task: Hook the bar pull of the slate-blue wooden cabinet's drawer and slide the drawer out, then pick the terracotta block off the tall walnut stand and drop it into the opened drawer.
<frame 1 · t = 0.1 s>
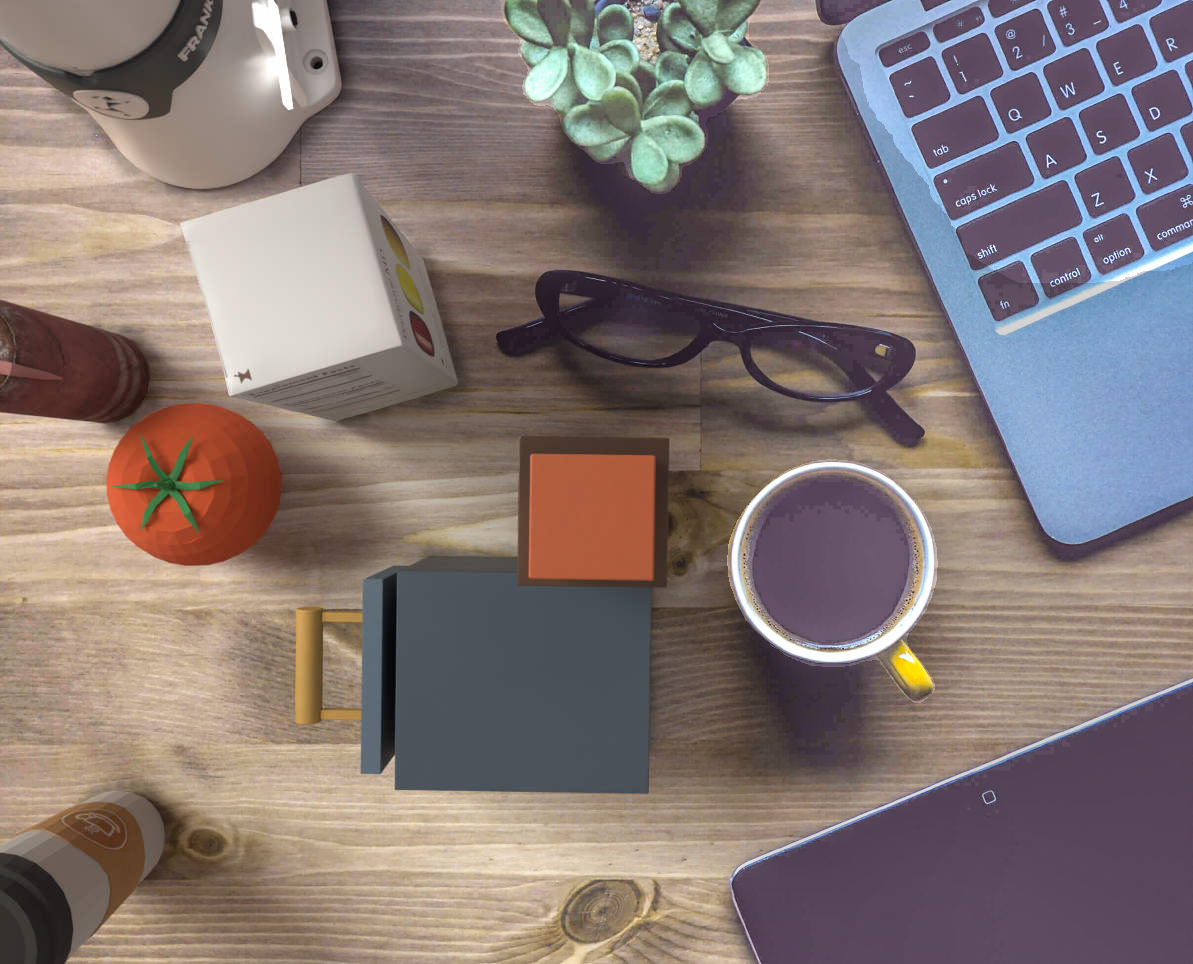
supplement box: (377, 338, 61), on the table
stand: (596, 496, 61), on the table
can: (113, 379, 61), on the table
coffee cup: (124, 832, 61), on the table
tomato: (229, 483, 61), on the table
cabinet: (535, 649, 61), on the table
block: (593, 511, 36), point 25 cm above the table, touching stand
drawer: (447, 663, 56), point 5 cm above the table, slide at 1.0 cm
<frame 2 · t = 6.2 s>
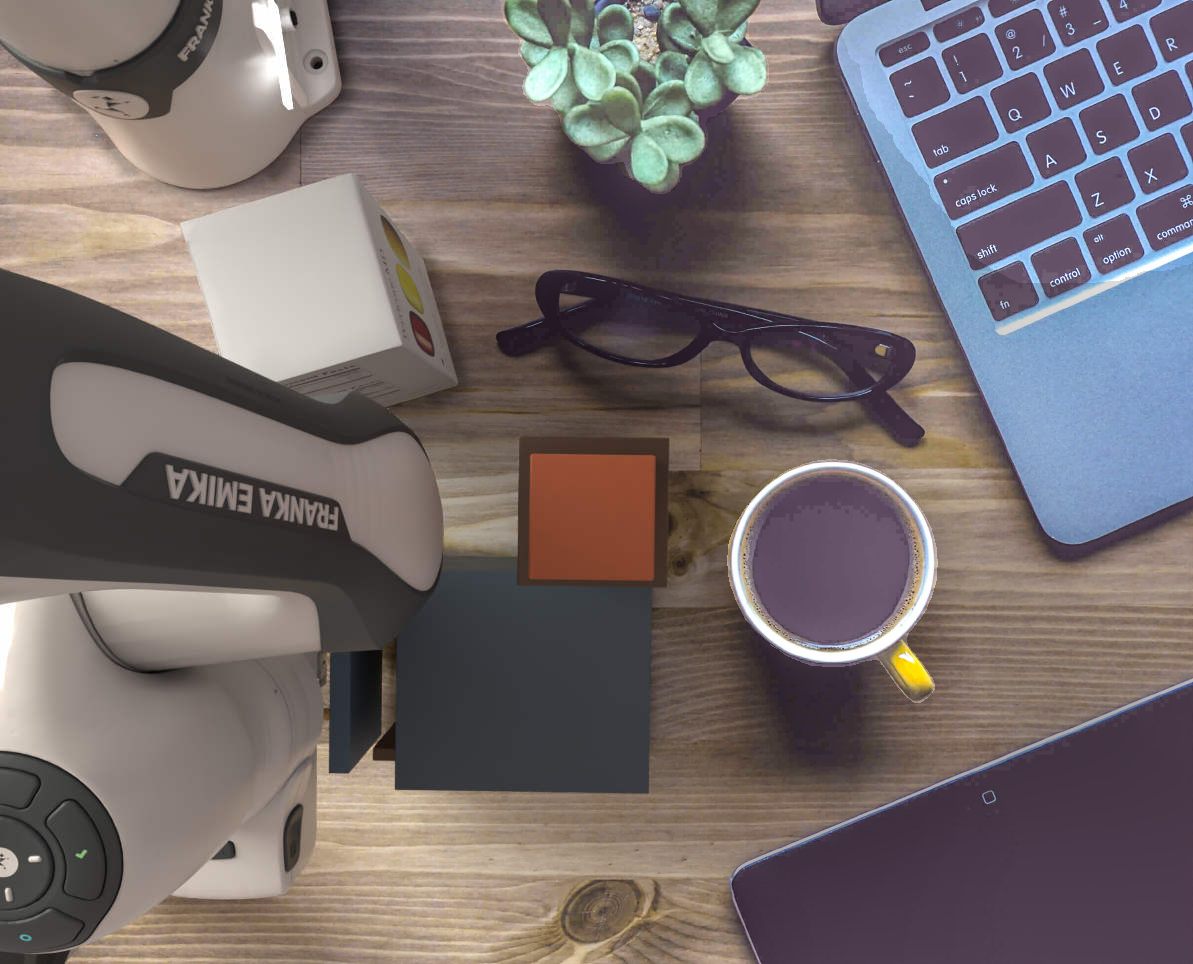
hand: (314, 659, 57), 4 cm above the table, tool pointing down, fingers closed
drawer: (417, 663, 56), point 5 cm above the table, slide at 2.9 cm, touching gripper
everything else where it was.
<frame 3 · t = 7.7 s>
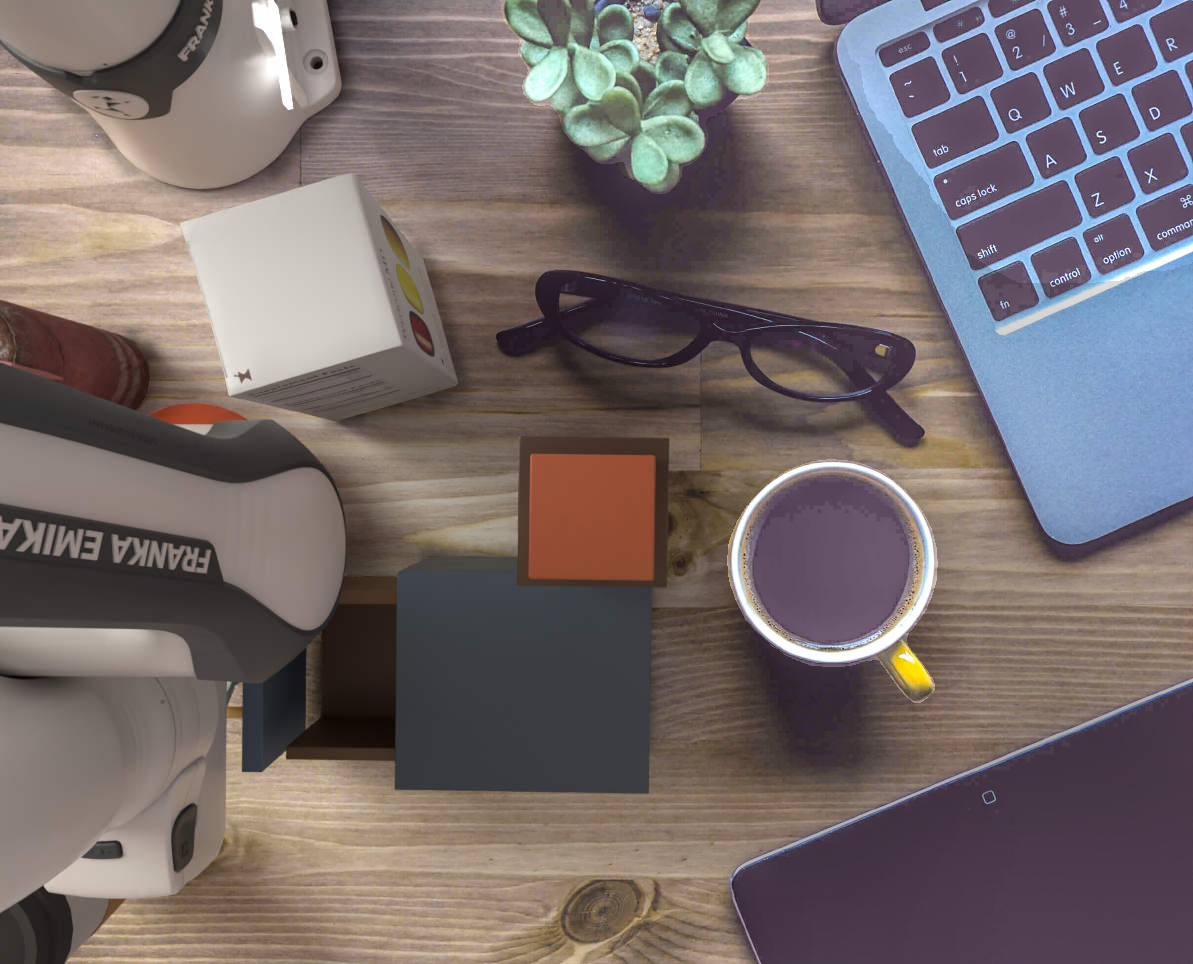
hand: (232, 656, 56), 5 cm above the table, tool pointing down, fingers closed
drawer: (336, 662, 56), point 5 cm above the table, slide at 8.0 cm, touching gripper
everything else where it was.
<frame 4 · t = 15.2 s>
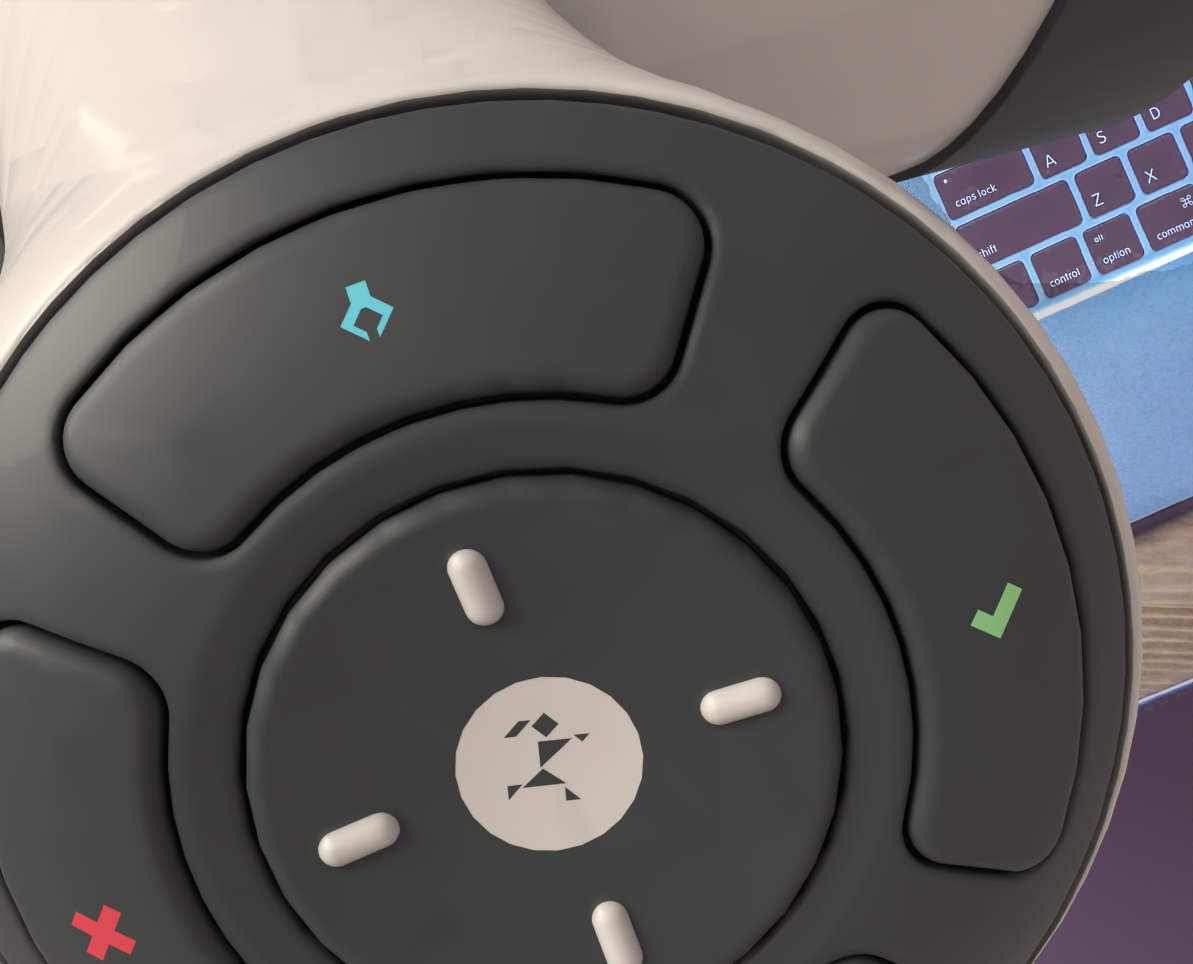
hand: (592, 512, 34), 26 cm above the table, tool pointing down, fingers closed on block, 4 cm apart
block: (593, 512, 36), point 25 cm above the table, touching gripper, stand
drawer: (335, 662, 56), point 5 cm above the table, slide at 8.0 cm
everything else where it was.
when the fingers open (9 cm above the table, at t = 22.3 s): block drops 6 cm, resting on drawer.
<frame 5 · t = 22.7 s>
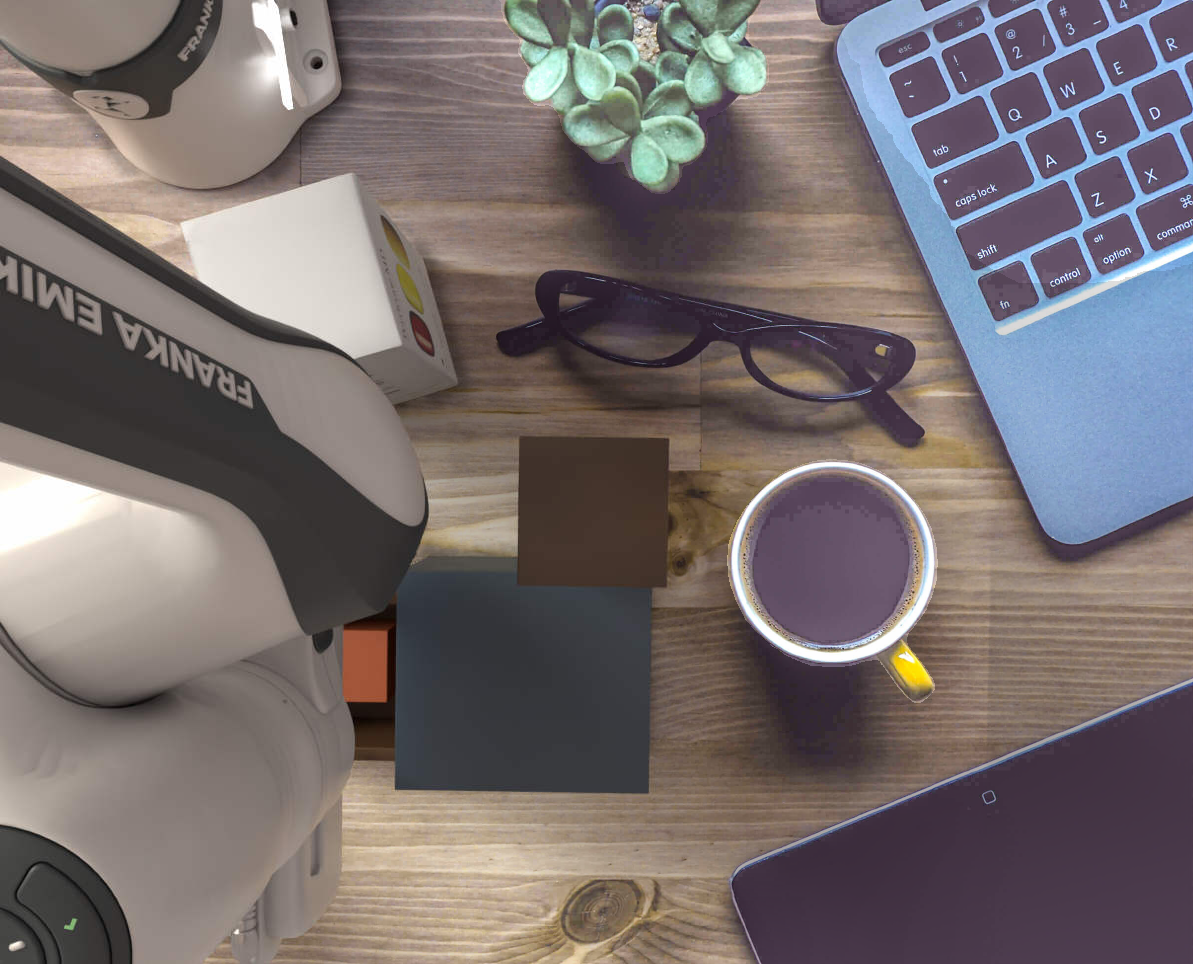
hand: (337, 677, 51), 9 cm above the table, tool pointing down, fingers open, 8 cm apart
block: (370, 652, 59), point 2 cm above the table, touching drawer
drawer: (335, 662, 56), point 5 cm above the table, slide at 8.0 cm, touching block
everything else where it was.
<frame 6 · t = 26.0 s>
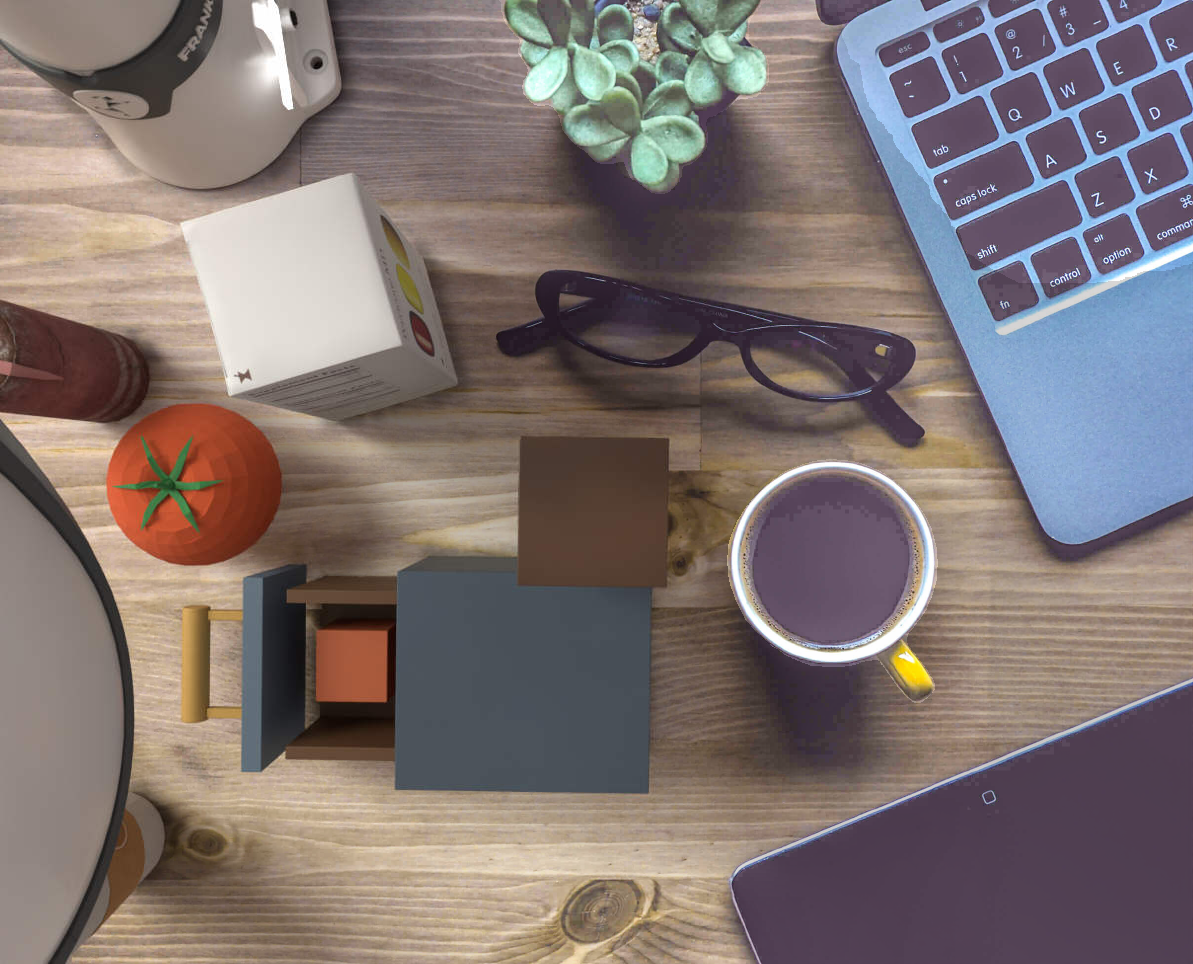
hand: (54, 805, 32), 29 cm above the table, tool pointing down, fingers open, 8 cm apart
nothing on the table moved.
at the end: drawer slide at 8.0 cm; block inside the target area in the drawer (0.7 cm from its centre), point 2.0 cm above the cabinet's base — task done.
